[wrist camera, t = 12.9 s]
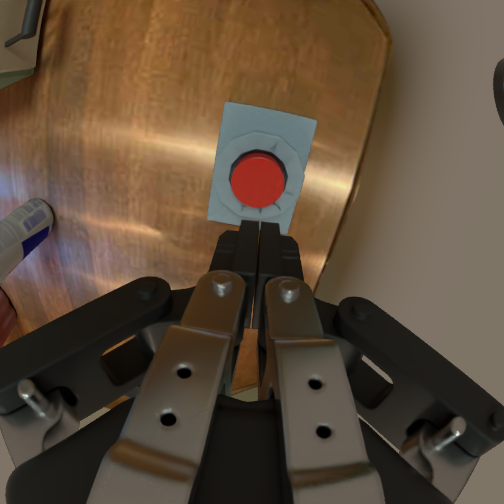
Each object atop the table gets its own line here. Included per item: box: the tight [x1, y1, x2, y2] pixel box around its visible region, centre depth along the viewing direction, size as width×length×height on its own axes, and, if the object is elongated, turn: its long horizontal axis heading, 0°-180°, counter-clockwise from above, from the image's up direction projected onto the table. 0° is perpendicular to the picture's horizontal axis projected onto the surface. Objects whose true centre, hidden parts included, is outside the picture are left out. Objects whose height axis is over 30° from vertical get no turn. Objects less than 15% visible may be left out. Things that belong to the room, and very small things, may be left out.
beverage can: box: [0, 198, 53, 283], centre depth 19 cm, size 5×5×15 cm
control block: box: [207, 101, 317, 235], centre depth 21 cm, size 10×7×4 cm
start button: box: [231, 153, 284, 208], centre depth 19 cm, size 4×4×2 cm
